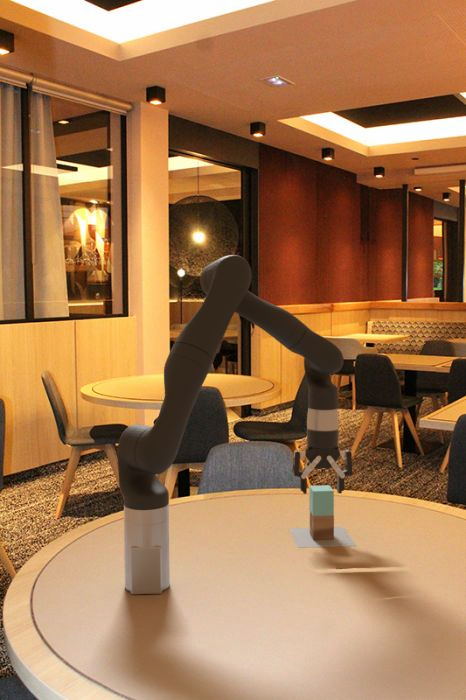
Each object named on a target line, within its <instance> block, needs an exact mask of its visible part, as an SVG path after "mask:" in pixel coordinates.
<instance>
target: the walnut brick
mask: <svg viewBox="0 0 466 700" xmlns="http://www.w3.org/2000/svg"><path fill="white" fill-rule="evenodd" d="M334 527H335V515H332V516H313V515H312V513H311V512H310V511H309V528H310V535H311V537H312V539H313V540H334Z"/></svg>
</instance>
